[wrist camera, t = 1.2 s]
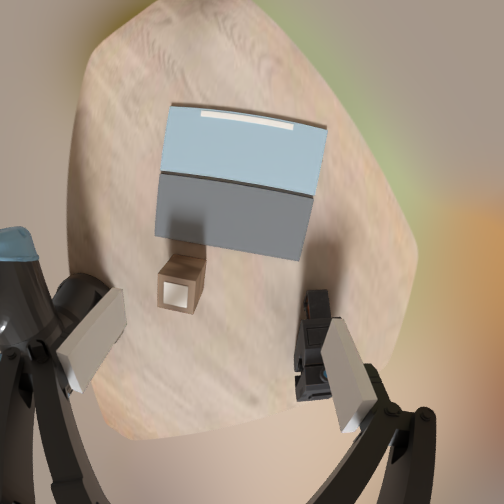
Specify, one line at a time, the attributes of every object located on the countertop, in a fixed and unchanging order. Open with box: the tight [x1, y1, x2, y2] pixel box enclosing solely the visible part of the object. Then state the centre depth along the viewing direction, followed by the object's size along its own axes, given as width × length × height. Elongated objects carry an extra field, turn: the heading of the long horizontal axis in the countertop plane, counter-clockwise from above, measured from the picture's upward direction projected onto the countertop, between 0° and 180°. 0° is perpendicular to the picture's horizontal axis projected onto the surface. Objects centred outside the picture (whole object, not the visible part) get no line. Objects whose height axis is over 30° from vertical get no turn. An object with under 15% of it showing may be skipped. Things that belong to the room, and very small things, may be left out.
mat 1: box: [160, 106, 328, 196], centre depth 33 cm, size 21×9×1 cm, turn 80°
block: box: [157, 254, 207, 314], centre depth 37 cm, size 5×5×7 cm
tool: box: [294, 290, 342, 402], centre depth 39 cm, size 6×19×15 cm, turn 3°
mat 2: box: [155, 174, 314, 261], centre depth 36 cm, size 21×9×1 cm, turn 80°
